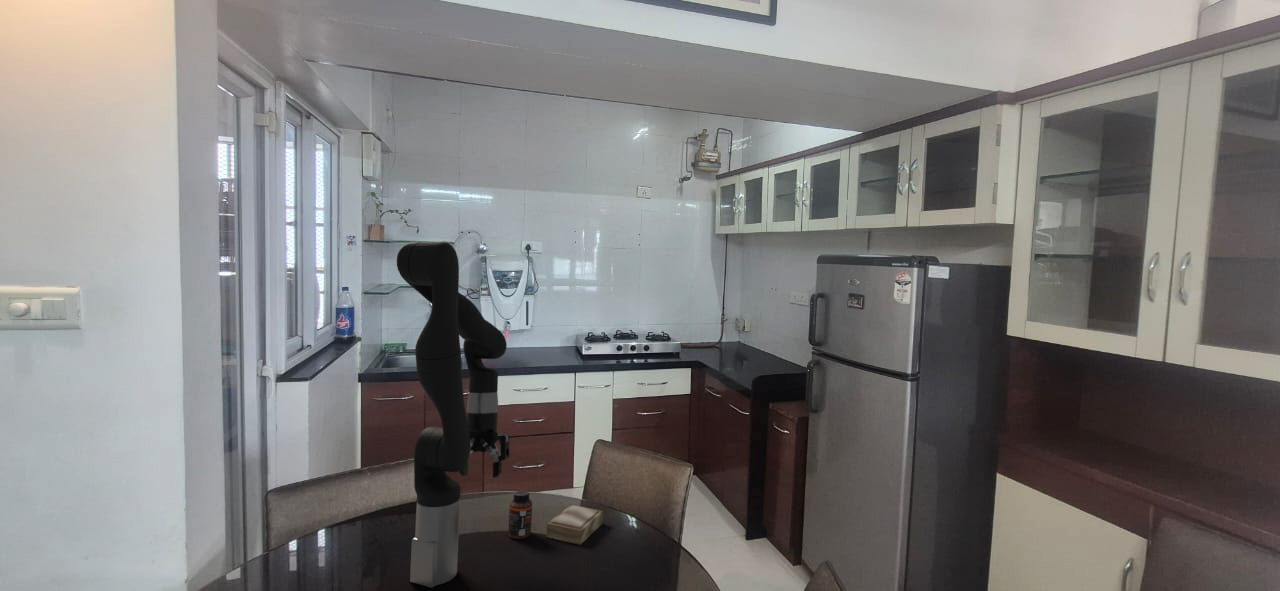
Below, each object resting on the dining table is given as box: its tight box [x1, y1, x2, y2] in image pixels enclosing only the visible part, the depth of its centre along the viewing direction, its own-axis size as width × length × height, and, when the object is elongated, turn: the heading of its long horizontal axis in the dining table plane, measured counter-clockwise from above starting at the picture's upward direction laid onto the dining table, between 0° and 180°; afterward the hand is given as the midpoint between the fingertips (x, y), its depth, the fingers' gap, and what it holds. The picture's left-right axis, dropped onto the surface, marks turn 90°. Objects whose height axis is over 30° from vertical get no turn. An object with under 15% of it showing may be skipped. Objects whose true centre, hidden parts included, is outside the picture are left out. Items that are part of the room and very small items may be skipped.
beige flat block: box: [546, 504, 604, 546], centre depth 146 cm, size 14×10×4 cm
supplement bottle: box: [507, 490, 533, 540], centre depth 141 cm, size 6×6×11 cm
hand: (480, 476), depth 132 cm, fingers open, 8 cm apart
